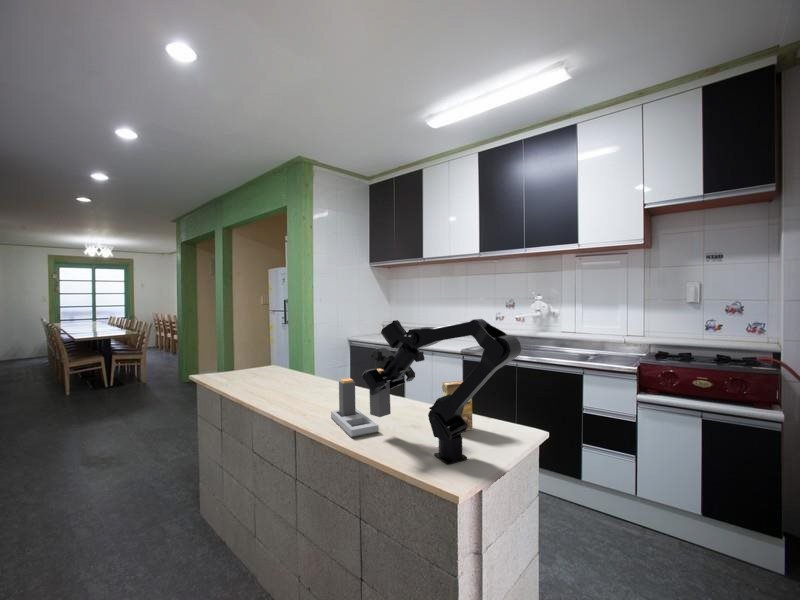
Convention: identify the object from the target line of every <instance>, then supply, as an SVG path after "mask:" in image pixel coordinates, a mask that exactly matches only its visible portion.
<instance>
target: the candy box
mask: <svg viewBox="0 0 800 600" xmlns="http://www.w3.org/2000/svg"><path fill="white" fill-rule="evenodd" d="M463 381H464V380H456V381H445V382H441V394H442V395H441V397H443V396H446V395H449V394H450V395H452V394H453V392H454V391H455V390H456V389H457V388H458V387H459V385H460V384H461V383H462V382H463ZM461 417H462V418H463V419H464V421H465V422H466V423H467V425H468V426H467V429H466V432H467V431H473V429H474V427H473V397H472V398H471V399H470V400H469V401H468V402H467V403H466V405H465V406H464V409H463V413H462V415H461ZM449 427H450V426H449Z"/></svg>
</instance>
